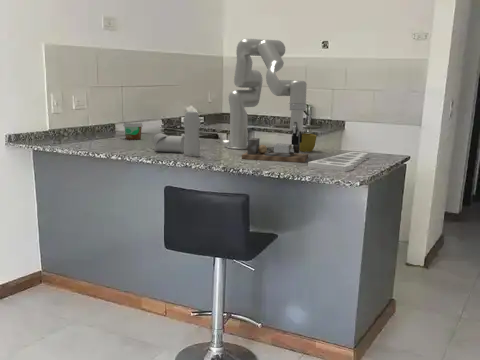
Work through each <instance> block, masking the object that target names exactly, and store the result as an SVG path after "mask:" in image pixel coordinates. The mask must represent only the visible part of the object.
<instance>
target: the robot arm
mask: <svg viewBox="0 0 480 360" xmlns="http://www.w3.org/2000/svg"><path fill="white" fill-rule="evenodd" d="M235 53H236V54H235V55H236V63H235V70H234V76H233V77H234V79H233V83H234V86H236V87H237V88H241V89H234V90H231V91H230V93H229V94H228V104H229V139H223V140H222V144H225V145H227V146H226V148H227V149H233V150H246V149H247V146H248V126H249V125H248V124H249V123H248V121H249V119H248V113H247V111H246V110H247V109H246V108H254V107H257V106H258V105H259V103H260V98H261V93H262V87H263V80H264V79H263V74H262V72H260V71H259V70H257V69H252V68H253V58H252V57H260V58H261V59H262V61H263V63H264V65H265V67H266V69H267V70H266V73H265V74H266V75H265V80H266V85H267V87H268V89H269V90H270V91H271V93H272V94H273V95H275V96H276V97H289V111H290V121H289V122H290V123H289V131H290V132H291V144H292V145H291V146H293V145H298V143H299V136H298V133H299V132H300V143H301V142H302V134H303V129H304V112H305V111H307V107H306V106H307V85H308V84H307V82H306V80H294V79H293V80H292V79H279V78H278V76H277V74H276V73H277V72H279V71H280V70H281V69H282V68H283V67H284V59H283V58H282V57H283V56H284V55H285V54H286V46H285V44H284V42H283V41H282V40H278V39H277V40H276V39H260V38H259V39H258V38H244V39H241V40H239V42H238V43H237V46H236V51H235ZM251 56H252V57H251ZM243 88H245V89H243ZM246 88H248V89H246Z"/></svg>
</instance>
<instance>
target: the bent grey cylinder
mask: <svg viewBox="0 0 480 360" xmlns="http://www.w3.org/2000/svg"><path fill="white" fill-rule="evenodd" d="M184 139H185V136H182V135H180V136H179V135H178V136H177V135H169V136H168V135H166V134H164V133H157V134H155V135H154V137H153V139H152V145H153V146H154V152H156V153H157V152H158V153H161V152H162V153H176V154H177V153H179V154H182V153H183V154H184Z"/></svg>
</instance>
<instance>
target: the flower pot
mask: <svg viewBox="0 0 480 360" xmlns="http://www.w3.org/2000/svg"><path fill="white" fill-rule="evenodd" d="M317 136H318V135H317V134H312V133H302V142H301V143H300V147H299V152H302V153H306V152H307V153H308V152H309V153H311V152H313V151H314V149H315V146H316V143H317Z"/></svg>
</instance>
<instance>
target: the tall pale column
mask: <svg viewBox="0 0 480 360" xmlns="http://www.w3.org/2000/svg"><path fill="white" fill-rule="evenodd" d="M183 127H184V137H185V139H184V152H183V155H184V156H188V157H196V158H199V157H201V156H200V155H201V147H200V146H201V142H200V127H201V118H200V117H199V112H197V111H194V110H189V111H185V115H184V117H183Z"/></svg>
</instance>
